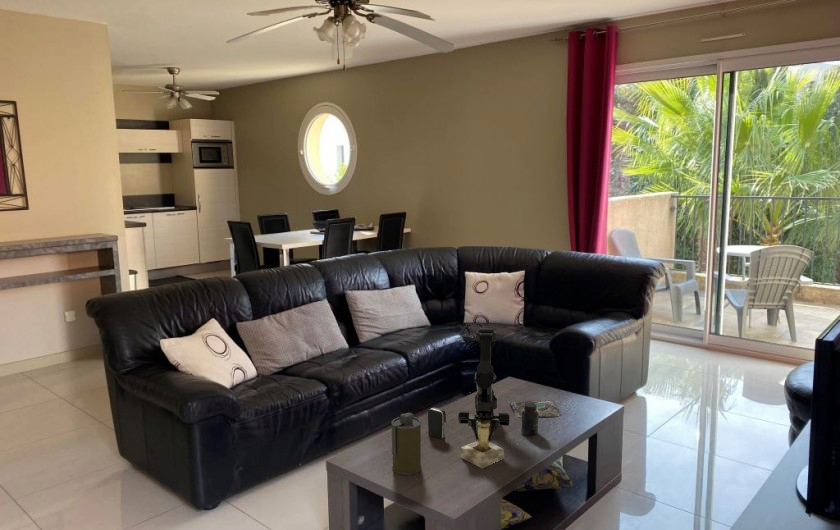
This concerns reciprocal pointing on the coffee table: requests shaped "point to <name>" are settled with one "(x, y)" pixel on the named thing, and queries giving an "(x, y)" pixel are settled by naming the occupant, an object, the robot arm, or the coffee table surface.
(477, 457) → the bore block
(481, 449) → the brass capped cylinder
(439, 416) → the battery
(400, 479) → the coffee table surface
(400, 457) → the canister
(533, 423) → the supplement bottle
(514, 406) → the terrain model
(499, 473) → the coffee table surface
